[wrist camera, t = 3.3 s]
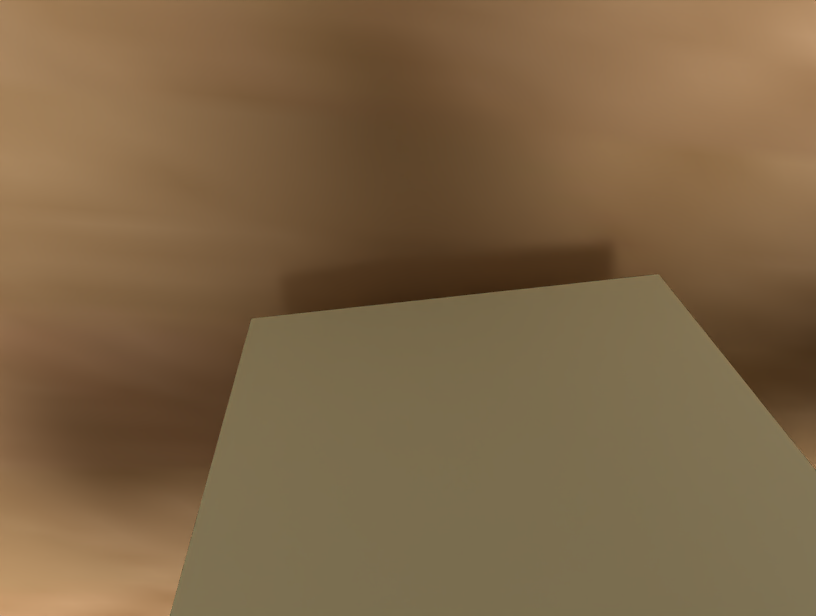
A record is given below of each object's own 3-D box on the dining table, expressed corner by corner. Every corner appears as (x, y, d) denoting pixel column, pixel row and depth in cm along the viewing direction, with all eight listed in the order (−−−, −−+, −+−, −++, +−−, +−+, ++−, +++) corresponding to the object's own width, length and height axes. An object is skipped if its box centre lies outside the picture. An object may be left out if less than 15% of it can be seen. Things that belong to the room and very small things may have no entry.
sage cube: (616, 528, 12) (791, 961, 7) (320, 561, 12) (291, 1015, 7) (658, 273, 9) (1039, 750, 4) (250, 318, 9) (105, 851, 4)
